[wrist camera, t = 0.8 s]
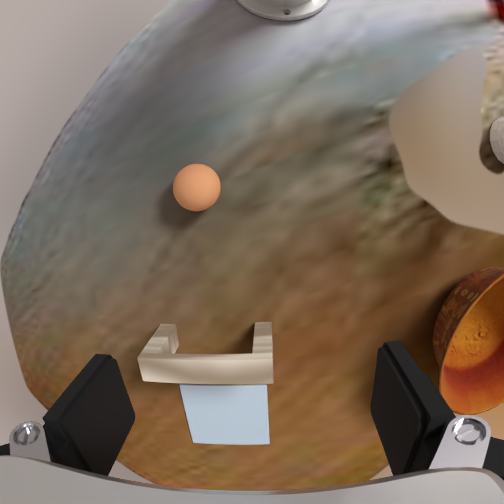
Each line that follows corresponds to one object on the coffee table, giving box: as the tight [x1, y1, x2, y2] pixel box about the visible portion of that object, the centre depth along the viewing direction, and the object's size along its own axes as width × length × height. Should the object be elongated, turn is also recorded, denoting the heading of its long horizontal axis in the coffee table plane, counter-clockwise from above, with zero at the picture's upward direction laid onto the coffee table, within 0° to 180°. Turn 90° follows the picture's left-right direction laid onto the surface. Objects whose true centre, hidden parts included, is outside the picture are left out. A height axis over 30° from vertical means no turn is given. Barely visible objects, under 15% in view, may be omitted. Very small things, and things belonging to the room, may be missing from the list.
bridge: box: [137, 322, 273, 384], centre depth 35 cm, size 3×14×9 cm, turn 94°
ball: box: [173, 164, 221, 211], centre depth 33 cm, size 5×5×5 cm
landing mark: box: [180, 384, 270, 444], centre depth 43 cm, size 12×12×1 cm
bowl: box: [433, 267, 504, 415], centre depth 33 cm, size 21×21×10 cm
